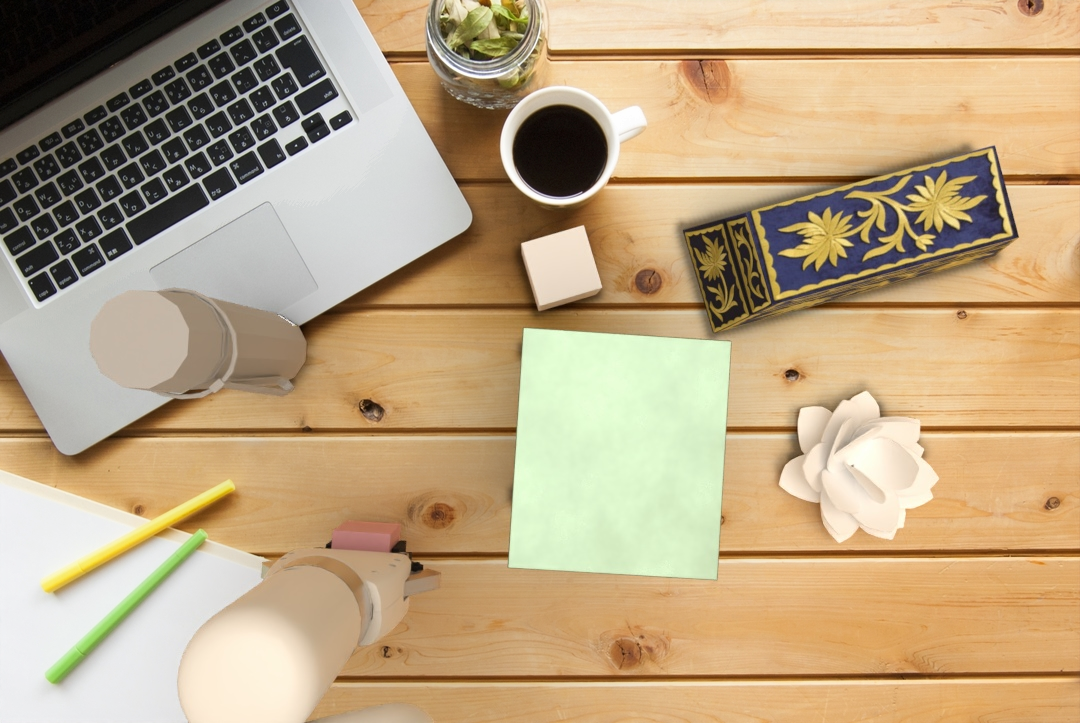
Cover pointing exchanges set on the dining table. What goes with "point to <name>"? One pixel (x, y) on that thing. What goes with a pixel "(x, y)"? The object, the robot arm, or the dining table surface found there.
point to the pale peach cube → (561, 268)
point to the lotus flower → (859, 467)
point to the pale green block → (619, 454)
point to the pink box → (366, 536)
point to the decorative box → (852, 239)
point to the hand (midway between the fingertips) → (370, 555)
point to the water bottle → (194, 345)
